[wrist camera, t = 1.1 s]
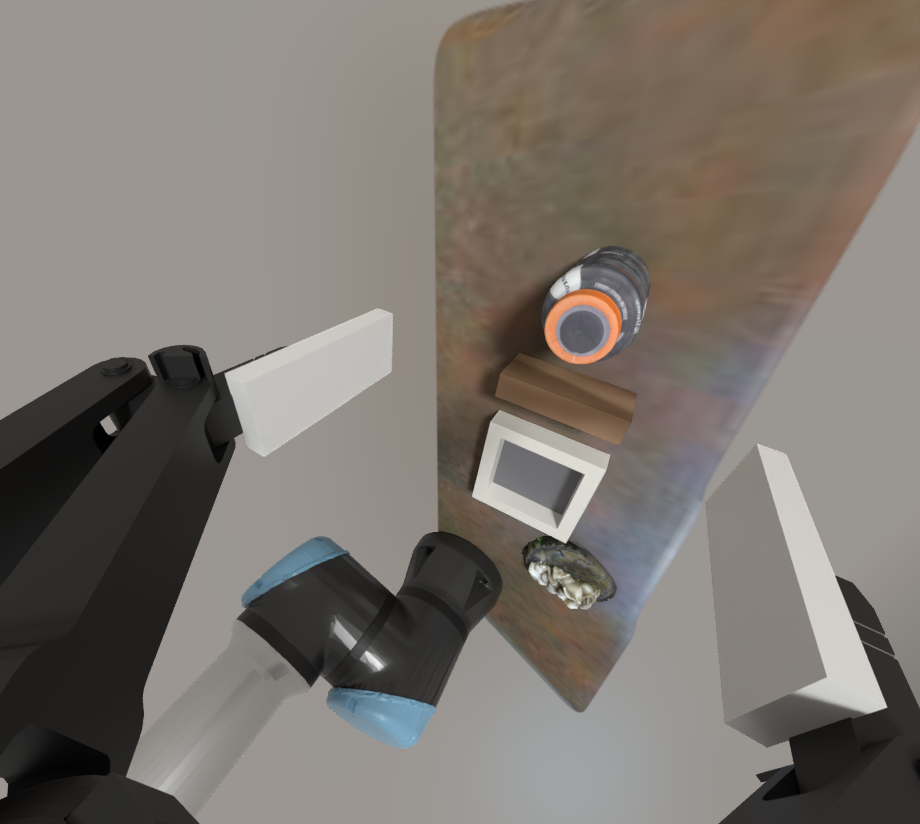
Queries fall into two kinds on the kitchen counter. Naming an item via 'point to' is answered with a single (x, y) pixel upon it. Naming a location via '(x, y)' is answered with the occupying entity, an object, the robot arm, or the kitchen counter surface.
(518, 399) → the door edge
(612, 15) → the kitchen counter surface
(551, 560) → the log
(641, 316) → the pill bottle
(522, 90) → the kitchen counter surface
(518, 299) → the kitchen counter surface
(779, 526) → the robot arm
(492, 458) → the plate
